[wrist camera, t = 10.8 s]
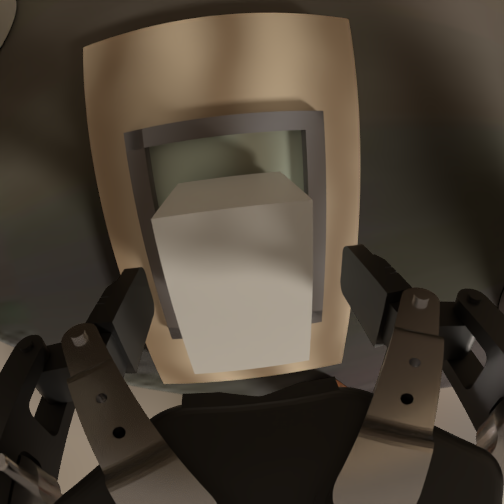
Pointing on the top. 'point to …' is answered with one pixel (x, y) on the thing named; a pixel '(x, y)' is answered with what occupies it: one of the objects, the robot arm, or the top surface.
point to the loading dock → (228, 147)
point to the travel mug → (6, 17)
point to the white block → (239, 270)
